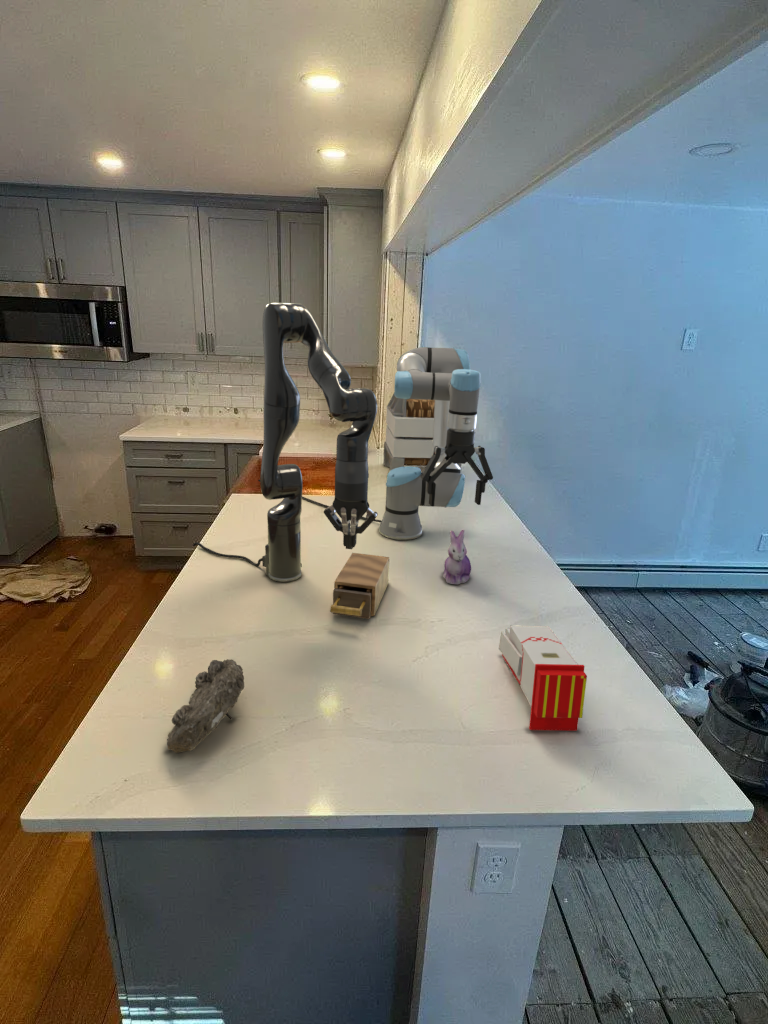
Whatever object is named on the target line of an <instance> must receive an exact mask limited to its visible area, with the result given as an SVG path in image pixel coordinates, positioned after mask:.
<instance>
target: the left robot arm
mask: <svg viewBox="0 0 768 1024" xmlns="http://www.w3.org/2000/svg"><path fill="white" fill-rule="evenodd" d="M262 342H263V357H264V390H263V391H264V392H263V441H262V442H263V444H262V456H261V463H260V465H261V466H260V476H259V480H260V482H259V483H260V491H261V494H262V496H263V498H264V499H266V500H268V501H272V500H273V501H274V500H281V499H282V500H281V501H279V503H277V504H276V505H274V506H272V507H271V508H269V509H268V510H267V514H266V520H267V521H266V522H267V544H265V547H264V550H265V551H264V553H265V555H263V556H261V558H259V559H258V560H257V563H255V562H253V561H252V559H250V558H248V557H246V556H244V555H237V554H226V553H225V554H223V553H220V552H217V551H214V550H212V549H210V548H208V547H206V546H205V545H203V544H202V543H201V542H199V541H198V542H194V543H193V544H192V546H193V547H196V546H198V547H200V548H201V549H202V550H204V551H206V552H208V553H210V554H212V555H215V556H219V557H222V558H230V559H231V558H232V559H239V560H240V559H242V560H245V561H246V562H247V563H249V564H251V565H252V566H254V567H259V566H260V565H261V563H262V567H264V568H265V576H267V577H269V579H270V580H272V581H274V582H279V583H280V582H281V583H290V582H293V581H296V580H298V579H300V578H301V576H302V543H301V542H302V539H301V538H302V537H301V535H302V533H301V516H302V515H301V514H302V511H303V499H302V497H303V490H304V489H303V487H304V485H303V483H304V482H303V475H302V474H303V473H302V471H301V467H299V466H298V465H297V464H296V463H285V464H279V461H280V457H281V454H282V450H283V449H284V447H285V445H286V444H287V443H288V441H289V440H290V438H291V437H292V435H293V434H294V432H295V430H296V429H297V427H298V425H299V422H300V417H301V416H300V415H301V414H300V413H301V395H300V391H299V389H298V387H297V385H296V383H295V382H294V380H293V378H292V376H291V374H290V373H289V371H288V369H287V366H286V364H285V360H284V359H285V358H284V344H292V343H293V344H296V343H301V344H303V346H305V347H306V348H307V350H308V353H307V368H308V372H309V374H310V376H311V377H312V379H313V380H314V382H315V383H316V384H317V386H318V387H319V388H320V390H321V391H322V393H323V397H324V399H325V402H326V406H327V408H328V412H329V414H330V416H331V417H332V418H333V419H335V420H336V421H337V422H340V423H350V422H351V424H350V427H349V428H347V429H346V430H344V431H341V432H339V433H338V434H337V437H336V454H335V456H336V457H335V458H336V459H335V466H334V499H333V502H332V505H329V506H330V507H325V509H324V510H323V514H324V516H325V517H326V518H327V520H328V521H329V523H330V524H331V525H332V526H333V528H334V530H335V531H337V532H341V533H342V535H343V536H342V537H343V540H342V542H343V543H342V545H343V547H345V550H353V549H354V548H355V547H356V545H357V535H358V534H360V535H361V534H363V533H364V532H365V531H366V530H367V528H368V527H369V526H370V525H371V524H372V523H373V522H375V521H374V520H375V519H376V518H377V517H378V515H379V514H378V512H377V511H374V510H373V509H371V508H370V504H369V501H368V495H369V494H368V492H369V478H370V474H369V460H368V459H369V440H370V437H371V434H372V431H373V427H374V424H375V421H376V417H377V413H378V400H377V397H376V395H375V393H374V391H373V390H372V389H370V388H367V387H355V388H354V387H353V388H350V387H351V385H352V377H351V375H350V374H349V372H348V371H347V369H346V368H345V366H343V364H342V363H341V362H340V360H339V359H338V358H337V357H336V355H335V354H334V353H333V351H332V350H331V349H330V347H329V345H328V343H327V341H326V339H325V337H324V335H323V333H322V330H321V329H320V327H319V325H318V323H317V322H316V319H315V318H314V316H313V314H312V313H311V311H310V310H309V308H307V306H306V305H304V304H303V303H299V302H278V301H277V302H269V303H267V304H266V305H265V307H264V310H263V314H262ZM336 513H337V514H336ZM365 514H366V515H365ZM364 515H365V518H367V520H365V521H364V522H363V523H362V524H361V525H359V523H360V520H361V517H364ZM340 519H341V520H340Z"/></svg>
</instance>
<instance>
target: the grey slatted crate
mask: <svg viewBox="0 0 768 1024" xmlns="http://www.w3.org/2000/svg"><path fill="white" fill-rule="evenodd" d="M434 406H435V400H422V399H408V400H406V399H402V398H396V397H395V395H394V393H393V394H392V395H391V398H390V400H389V402H388V404H387V405H386V413H385V414H386V415H385V423H386V428H385V438H384V442H383V466H384V467H388V468H389V472H390V471H391V470H393V469H395V468H399V467H405V466H413V467H426V466H427V464H428V462H429V460H430V459H431V457H432V448H433V427H434ZM457 465H458V466H459V467H460V468H461V469H462V463H458V464H457Z"/></svg>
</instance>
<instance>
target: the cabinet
mask: <svg viewBox="0 0 768 1024" xmlns="http://www.w3.org/2000/svg"><path fill="white" fill-rule="evenodd" d="M389 574H390V557H389V556H382V555H375V554H368V553H359V552H352V553H351V555H350V556H349V558H348V559H347V560H346V562H345V564H344V565H343V566H342V569H341V570H340V572H339V574H338V575H337V577H336V578H335V579H334V588H336V589H339V586H340V585H345V586H353V587H360V588H368V589H372V603H371V614H370V617H375V615H376V613H377V610H378V608H379V607H380V603H381V601H382V600H383V597H384V594H385V593H386V589H387V587H388V585H389Z"/></svg>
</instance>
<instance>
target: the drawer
mask: <svg viewBox="0 0 768 1024" xmlns="http://www.w3.org/2000/svg"><path fill="white" fill-rule="evenodd" d="M371 603H372V589H368V588H360V587H353V586H345V585H340V586H339V589H336V588H334V589H333V590H332V604H330V610H329V611H330V613H332V614H333V615H339V616H346V617H353V618H359V619H360V618H361V619H368V620H369V619H370V618H371V616H370V614H371Z"/></svg>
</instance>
